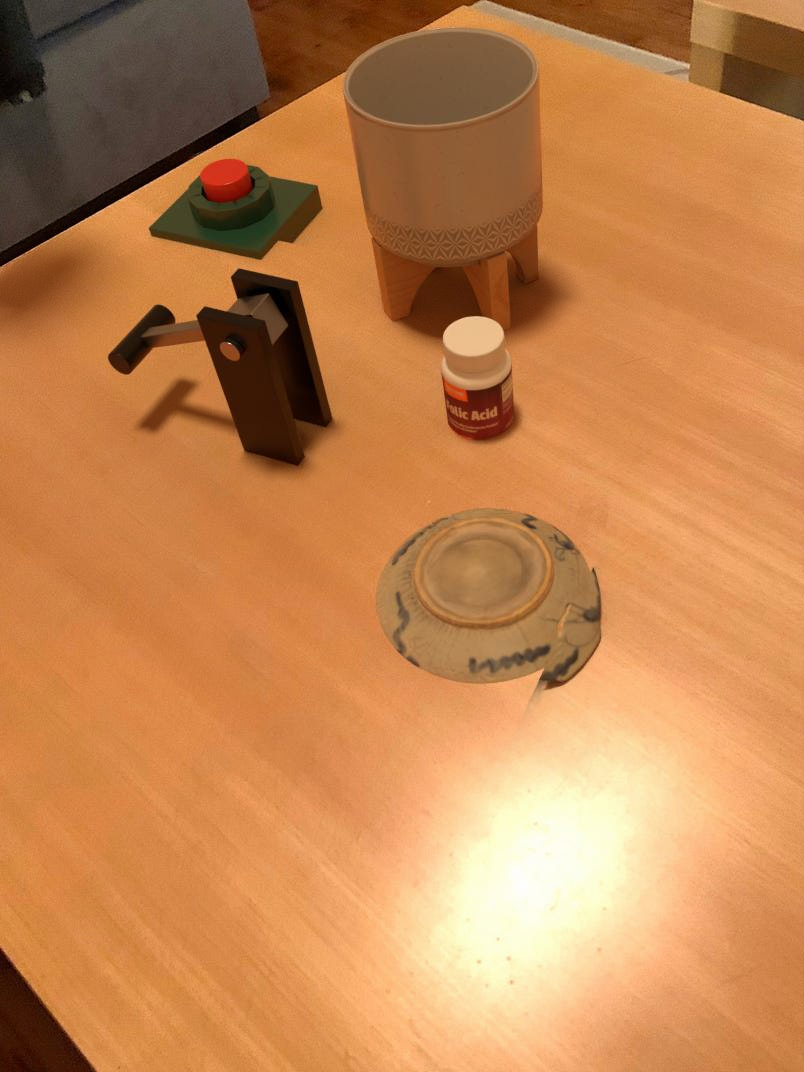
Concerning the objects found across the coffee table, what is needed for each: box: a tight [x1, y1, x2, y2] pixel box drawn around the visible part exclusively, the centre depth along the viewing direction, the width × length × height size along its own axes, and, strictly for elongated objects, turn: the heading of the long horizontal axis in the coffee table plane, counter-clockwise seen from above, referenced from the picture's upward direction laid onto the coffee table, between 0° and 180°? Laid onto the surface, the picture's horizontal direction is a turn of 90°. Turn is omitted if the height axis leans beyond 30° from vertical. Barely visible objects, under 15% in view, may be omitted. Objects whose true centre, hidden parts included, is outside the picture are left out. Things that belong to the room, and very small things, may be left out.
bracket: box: [195, 267, 333, 467], centre depth 69 cm, size 12×9×13 cm
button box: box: [148, 164, 323, 261], centre depth 89 cm, size 11×10×4 cm
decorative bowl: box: [375, 507, 602, 685], centre depth 64 cm, size 15×4×15 cm
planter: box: [342, 26, 544, 332], centre depth 76 cm, size 13×13×18 cm
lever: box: [107, 293, 288, 376], centre depth 69 cm, size 13×6×2 cm, turn 66°
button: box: [199, 158, 253, 203], centre depth 87 cm, size 4×4×2 cm
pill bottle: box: [440, 315, 516, 441], centre depth 71 cm, size 5×5×8 cm
